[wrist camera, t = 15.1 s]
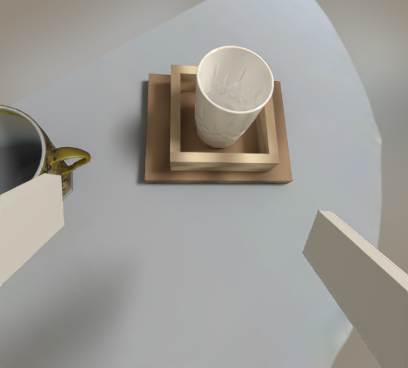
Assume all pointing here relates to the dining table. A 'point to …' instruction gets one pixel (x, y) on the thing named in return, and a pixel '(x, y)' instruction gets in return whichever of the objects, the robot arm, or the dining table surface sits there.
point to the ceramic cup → (32, 153)
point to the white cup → (230, 94)
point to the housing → (202, 153)
